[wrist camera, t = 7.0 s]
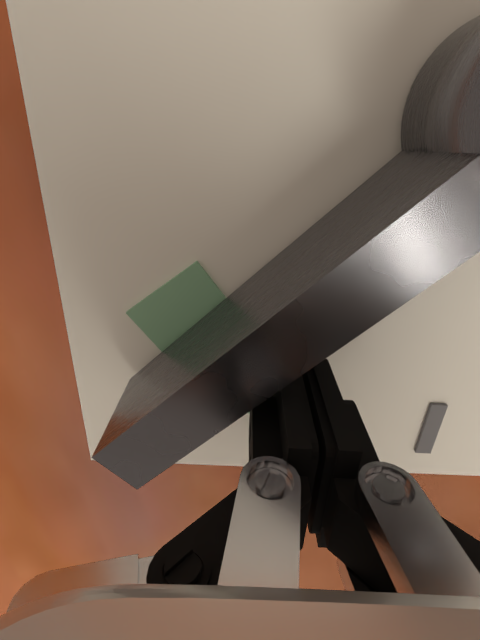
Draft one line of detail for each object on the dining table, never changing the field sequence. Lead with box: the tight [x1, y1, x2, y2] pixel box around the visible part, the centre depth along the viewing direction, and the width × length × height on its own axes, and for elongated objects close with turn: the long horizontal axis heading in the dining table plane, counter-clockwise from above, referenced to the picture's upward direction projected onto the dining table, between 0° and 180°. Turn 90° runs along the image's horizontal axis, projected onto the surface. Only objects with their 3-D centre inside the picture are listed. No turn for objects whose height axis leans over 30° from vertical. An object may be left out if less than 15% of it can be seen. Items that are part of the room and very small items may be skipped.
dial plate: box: [6, 0, 480, 476], centre depth 11 cm, size 24×22×2 cm
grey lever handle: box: [92, 15, 480, 489], centre depth 8 cm, size 15×4×6 cm, turn 132°
